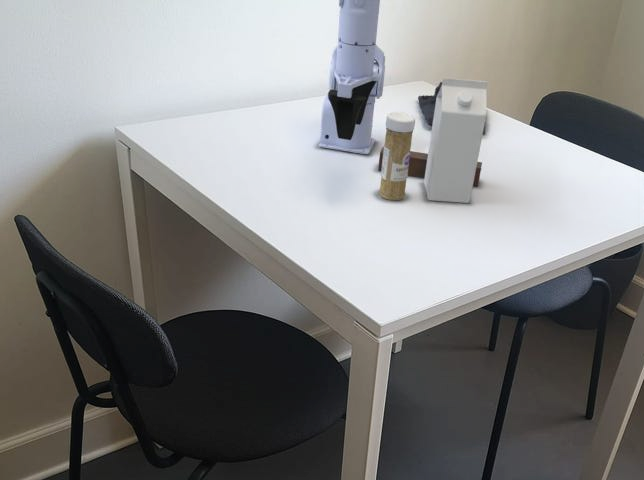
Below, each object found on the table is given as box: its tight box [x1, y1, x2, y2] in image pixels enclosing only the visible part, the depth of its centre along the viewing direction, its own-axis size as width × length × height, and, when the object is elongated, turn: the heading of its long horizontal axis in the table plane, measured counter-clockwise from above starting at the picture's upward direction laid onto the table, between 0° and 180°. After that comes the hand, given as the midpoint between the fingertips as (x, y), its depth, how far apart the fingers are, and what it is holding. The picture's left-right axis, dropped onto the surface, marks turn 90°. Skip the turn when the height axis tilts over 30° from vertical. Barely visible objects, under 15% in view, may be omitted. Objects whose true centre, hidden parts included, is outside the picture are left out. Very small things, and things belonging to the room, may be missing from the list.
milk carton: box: [423, 77, 489, 204], centre depth 118 cm, size 7×7×19 cm
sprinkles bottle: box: [378, 111, 416, 201], centre depth 116 cm, size 5×5×14 cm
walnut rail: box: [377, 146, 483, 188], centre depth 128 cm, size 18×3×4 cm, turn 80°
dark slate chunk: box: [417, 81, 486, 136], centre depth 155 cm, size 15×22×5 cm
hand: (349, 130), depth 115 cm, fingers open, 7 cm apart
